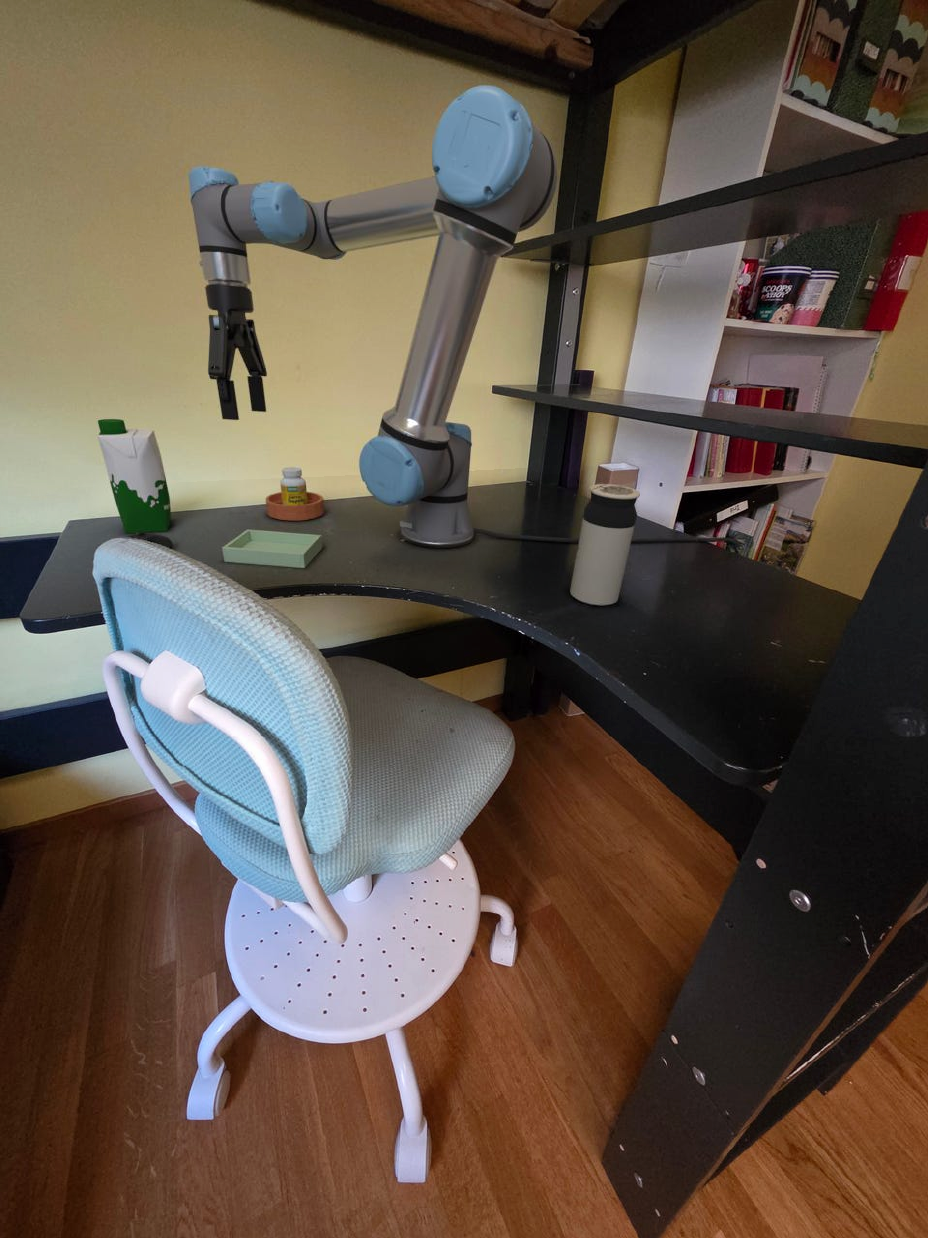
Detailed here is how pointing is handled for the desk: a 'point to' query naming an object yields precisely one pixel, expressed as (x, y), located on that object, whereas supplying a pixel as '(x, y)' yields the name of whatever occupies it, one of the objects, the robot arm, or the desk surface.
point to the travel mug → (604, 544)
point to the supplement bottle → (293, 487)
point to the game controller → (153, 538)
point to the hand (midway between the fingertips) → (245, 415)
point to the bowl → (295, 508)
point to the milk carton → (135, 476)
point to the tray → (273, 548)
